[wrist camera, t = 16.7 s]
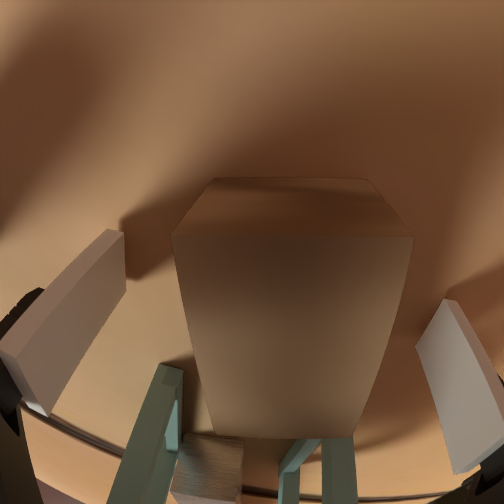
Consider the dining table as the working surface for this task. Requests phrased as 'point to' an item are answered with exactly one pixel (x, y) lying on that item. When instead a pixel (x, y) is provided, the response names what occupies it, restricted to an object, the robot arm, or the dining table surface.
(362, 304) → the walnut block
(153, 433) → the bridge
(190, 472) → the grey bar
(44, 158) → the dining table surface
